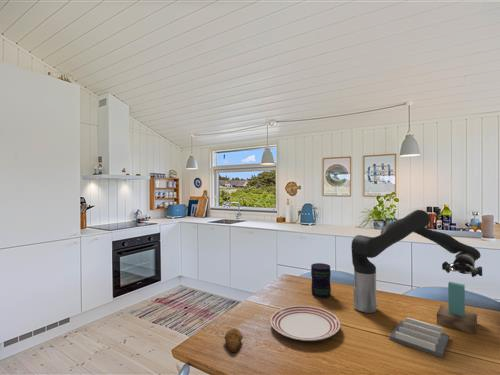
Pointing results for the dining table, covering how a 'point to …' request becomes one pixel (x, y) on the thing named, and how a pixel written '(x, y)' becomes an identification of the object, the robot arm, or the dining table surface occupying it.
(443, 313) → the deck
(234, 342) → the brown oval lump
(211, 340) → the dining table surface
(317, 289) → the storage jar
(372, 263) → the robot arm
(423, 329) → the slotted rack
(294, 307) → the dinner plate
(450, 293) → the block
